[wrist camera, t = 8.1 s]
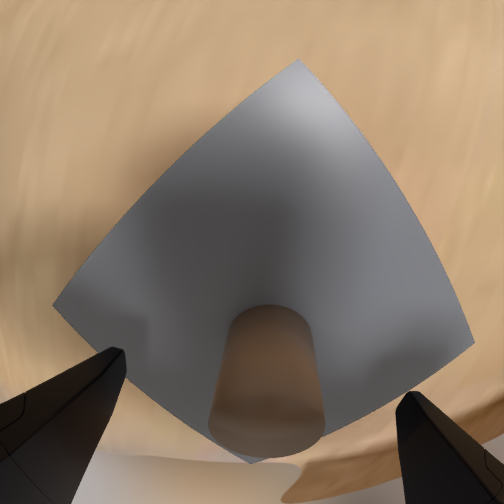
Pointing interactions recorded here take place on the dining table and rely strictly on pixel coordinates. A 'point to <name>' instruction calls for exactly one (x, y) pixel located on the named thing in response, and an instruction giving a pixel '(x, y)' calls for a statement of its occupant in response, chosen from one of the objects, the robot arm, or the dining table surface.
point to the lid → (271, 279)
